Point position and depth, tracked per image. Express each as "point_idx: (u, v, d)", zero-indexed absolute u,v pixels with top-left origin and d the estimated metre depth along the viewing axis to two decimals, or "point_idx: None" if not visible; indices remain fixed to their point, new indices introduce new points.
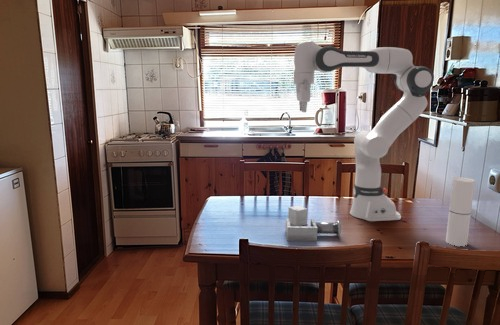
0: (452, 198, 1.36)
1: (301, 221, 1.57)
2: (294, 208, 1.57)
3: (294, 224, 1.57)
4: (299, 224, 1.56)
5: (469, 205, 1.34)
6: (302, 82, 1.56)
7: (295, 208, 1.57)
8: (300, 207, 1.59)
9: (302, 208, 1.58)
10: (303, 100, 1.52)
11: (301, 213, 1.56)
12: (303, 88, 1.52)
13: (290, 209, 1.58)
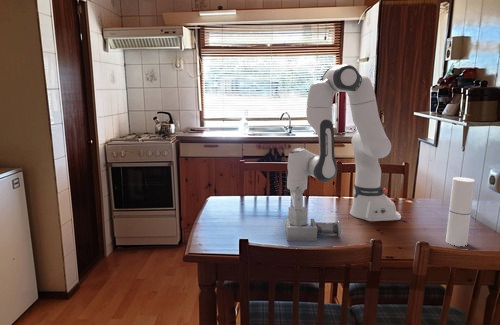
0: (452, 198, 1.36)
1: (301, 221, 1.57)
2: None
3: (294, 224, 1.57)
4: (299, 224, 1.56)
5: (469, 205, 1.34)
6: (295, 189, 1.59)
7: None
8: None
9: None
10: None
11: (301, 213, 1.56)
12: (296, 198, 1.54)
13: (290, 209, 1.58)
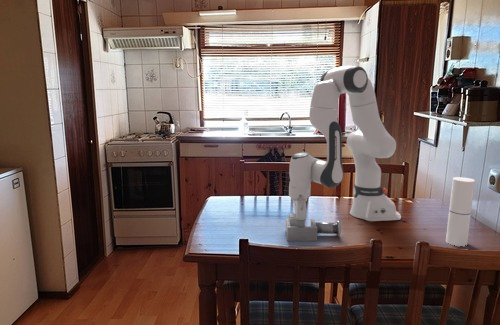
0: (452, 198, 1.36)
1: None
2: (292, 215, 1.48)
3: None
4: None
5: (469, 205, 1.34)
6: (298, 197, 1.47)
7: (293, 216, 1.48)
8: None
9: None
10: (298, 220, 1.43)
11: (296, 222, 1.45)
12: (298, 207, 1.43)
13: (289, 216, 1.49)
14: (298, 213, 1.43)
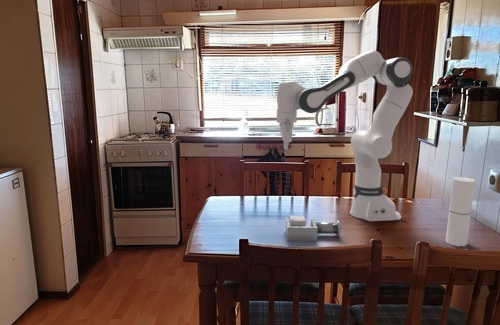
0: (452, 198, 1.36)
1: None
2: (292, 217, 1.46)
3: None
4: None
5: (469, 205, 1.34)
6: (284, 121, 1.58)
7: (293, 218, 1.46)
8: (300, 218, 1.46)
9: (300, 219, 1.44)
10: (285, 140, 1.54)
11: (297, 224, 1.43)
12: (285, 129, 1.53)
13: None
14: (284, 134, 1.53)
